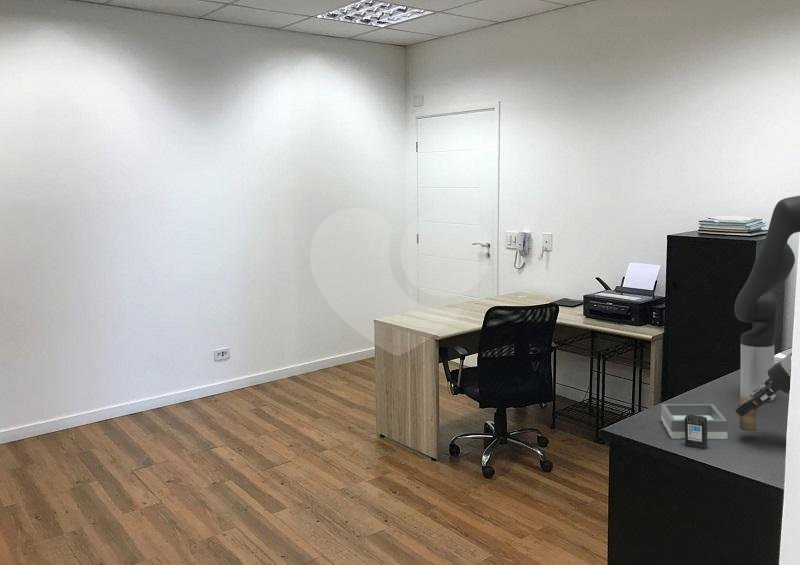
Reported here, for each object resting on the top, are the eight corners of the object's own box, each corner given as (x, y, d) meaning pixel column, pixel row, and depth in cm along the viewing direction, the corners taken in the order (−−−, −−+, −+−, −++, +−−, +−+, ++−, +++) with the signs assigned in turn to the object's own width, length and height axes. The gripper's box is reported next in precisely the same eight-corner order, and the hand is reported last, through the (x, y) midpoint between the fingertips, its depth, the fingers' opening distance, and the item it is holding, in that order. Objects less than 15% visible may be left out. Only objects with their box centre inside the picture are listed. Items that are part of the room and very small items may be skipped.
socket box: (661, 420, 194) (661, 404, 193) (713, 421, 191) (713, 404, 191) (671, 438, 181) (671, 420, 180) (727, 439, 178) (727, 421, 177)
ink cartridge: (684, 446, 175) (684, 416, 174) (687, 443, 177) (686, 413, 176) (705, 449, 172) (704, 419, 171) (707, 446, 174) (706, 416, 173)
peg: (737, 425, 179) (737, 396, 178) (753, 425, 178) (754, 396, 177) (742, 431, 175) (742, 401, 174) (758, 431, 174) (759, 401, 173)
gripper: (784, 353, 175) (733, 392, 184) (777, 367, 164) (723, 408, 173) (808, 375, 173) (754, 413, 182) (802, 390, 162) (746, 431, 170)
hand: (739, 410), depth 177 cm, fingers closed on peg, 4 cm apart
